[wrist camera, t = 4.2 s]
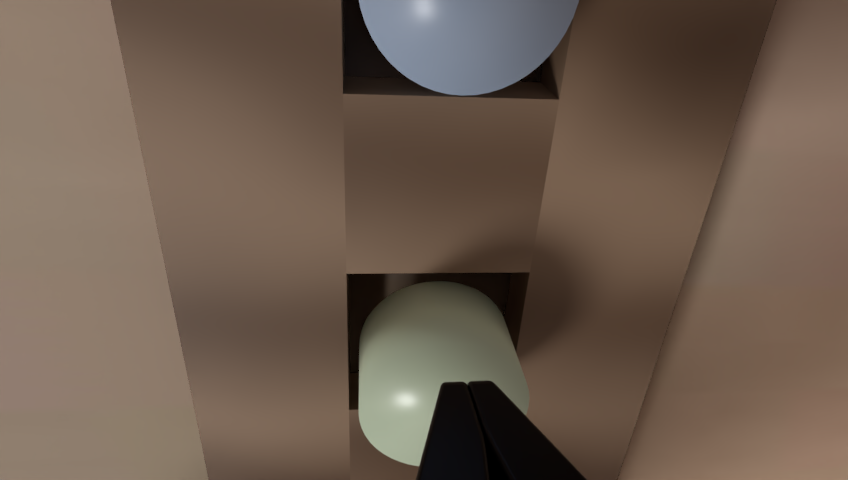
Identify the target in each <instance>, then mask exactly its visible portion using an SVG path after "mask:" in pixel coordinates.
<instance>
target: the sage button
mask: <svg viewBox="0 0 848 480" xmlns="http://www.w3.org/2000/svg"><path fill="white" fill-rule="evenodd" d="M485 380H489V381H492V382H494V383H495V384H496V385H497V386H498V387H499V388H500V389H501V390H502V391H503V392H504V393H505V395H506V396H507V397H508V398H509V399H510V400H511V401H512V402H513V403H514V404H515V405H516V406H517V407H518V408H519V409H520V410H521V411H522V412H523V413H524V414H525V415H526V414H527V410H528V407H529V390H528V386H527V382H526V379H525V376H524V374H523V371H522V368H521V365H520V362H519V359H518V357H517V354H516V351H515V348H514V345H513V343H512V340H511V337H510V334H509V331H508V328H507V326H506V323H505V320H504V318H503V315H502V313H501V311H500V310H499V308H498V307H497V305H496V304H495V303H494V302H493V301H492V300H491V299H490V298H489V297H487V296H486V295H485V294H484V293H482V292H480V291H478V290H477V289H475V288H472V287H470V286H467V285H464V284H460V283H456V282H449V281H429V282H423V283H417V284H414V285H411V286H407V287H405V288H403V289H400V290H398V291H396V292H394V293H393V294H391V295H389V296H388V297H386V298H385V299H384V300H382V301H381V302H380V303H379V304H378V305H377V306H376V307H375V308H374V309H373V310H372V311H371V313H370V314H369V315H368V317H367V319H366V320H365V322H364V325H363V327H362V330H361V334H360V341H359V421H360V425H361V428H362V430H363V432H364V434H365V436H366V437H367V439H368V440H369V442H370V443H371V444H372V445H373V446H374V447H375V448H376V449H378V450H379V451H380V452H382V453H383V454H385V455H386V456H388V457H390V458H392V459H394V460H397V461H399V462H402V463H405V464H409V465H414V466H419V465H420V461H421V457H422V454H423V450H424V446H425V442H426V439H427V435H428V431H429V427H430V424H431V420H432V416H433V412H434V409H435V405H436V401H437V397H438V394H439V390H440V386H441V384H442V383H444V382H465V383H466V384H467V383H469V382H470V381H485Z"/></svg>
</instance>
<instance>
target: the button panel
mask: <svg viewBox="0 0 848 480" xmlns="http://www.w3.org/2000/svg"><path fill="white" fill-rule="evenodd" d="M776 1H777V0H579V3H578V5H577V8H576V11H575V14H574V17H573V19H572V21H571V23H570V25H569V27H568V29H567V31H566V33H565V35H564V36H563V38H562V39H561V41H560V42H559V44H558V45H557V47H556V48H555V49H554V50H553V52H552V53H551V54H550V55H549V57H548V58H547V59H546V60H545V61H544V62H543V68H542V74H541V81H540V82H516V83H514V84H511V85H509V86H507V87H505V88H502V89H499V90H496V91H493V92H490V93H484V94H479V95H464V96H461V95H451V94H445V93H441V92H436V91H433V90H431V89H428V88H425V87H423V86H421V85H419V84H417V83H415V82H414V81H412V80H410V79H409V78H378V77H345V44H344V0H111V5H112V9H113V14H114V19H115V24H116V29H117V34H118V39H119V44H120V48H121V53H122V58H123V63H124V68H125V73H126V78H127V83H128V87H129V92H130V97H131V102H132V107H133V112H134V117H135V122H136V126H137V131H138V136H139V141H140V146H141V151H142V156H143V161H144V165H145V170H146V175H147V180H148V185H149V190H150V195H151V200H152V204H153V209H154V214H155V219H156V224H157V229H158V234H159V239H160V243H161V248H162V253H163V258H164V263H165V268H166V273H167V278H168V282H169V287H170V292H171V297H172V302H173V307H174V312H175V317H176V321H177V326H178V331H179V336H180V341H181V346H182V351H183V356H184V360H185V365H186V370H187V375H188V380H189V385H190V390H191V395H192V399H193V404H194V409H195V414H196V419H197V424H198V429H199V434H200V438H201V443H202V448H203V453H204V458H205V463H206V468H207V473H208V477H209V480H416V476H417V472H418V469H419V466H414V465H409V464H405V463H402V462H399V461H397V460H394V459H392V458H390V457H388V456H386V455H385V454H383V453H382V452H380V451H379V450H378V449H376V448H375V447H374V446H373V445H372V444H371V443H370V442H369V440H368V439H367V437H366V436H365V434H364V432H363V430H362V428H361V425H360V421H359V373H350V339H349V280H348V274H382V273H511V279H510V285H509V292H508V298H507V305H506V311H505V318H504V320H505V323H506V326H507V328H508V331H509V334H510V337H511V340H512V343H513V345H514V348H515V351H516V354H517V357H518V359H519V362H520V365H521V368H522V371H523V374H524V376H525V379H526V382H527V386H528V390H529V407H528V410H527V414H526V416H527V417H528V418H529V420H530V421H531V422H532V423H533V424H534V425H535V426H536V427H537V428H538V429H539V430H540V431H541V432H542V433H543V434H544V435H545V436H546V437H547V438H548V439H549V440H550V441H551V442H552V444H553V445H554V446H555V447H556V448H557V449H558V450H559V451H560V452H561V453H562V454H563V455H564V456H565V457H566V458H567V459H568V460H569V461H570V462H571V463H572V464H573V465H574V466H575V468H576V469H577V470H578V471H579V472H580V473H581V474H582V475H583V476H584V477H585V478H586V479H587V480H617V479H618V476H619V473H620V470H621V467H622V464H623V461H624V458H625V455H626V452H627V449H628V446H629V443H630V440H631V437H632V434H633V431H634V428H635V425H636V422H637V419H638V416H639V413H640V410H641V407H642V404H643V401H644V398H645V395H646V392H647V389H648V386H649V383H650V380H651V377H652V374H653V371H654V368H655V365H656V362H657V359H658V356H659V353H660V350H661V347H662V344H663V341H664V338H665V335H666V332H667V329H668V326H669V323H670V320H671V317H672V314H673V311H674V308H675V305H676V302H677V299H678V296H679V293H680V290H681V287H682V284H683V281H684V278H685V275H686V272H687V269H688V266H689V263H690V260H691V257H692V254H693V251H694V248H695V245H696V242H697V239H698V236H699V232H700V229H701V226H702V223H703V220H704V217H705V214H706V211H707V208H708V205H709V202H710V199H711V196H712V193H713V190H714V187H715V184H716V181H717V178H718V175H719V172H720V169H721V166H722V163H723V160H724V157H725V154H726V151H727V148H728V145H729V142H730V139H731V136H732V133H733V130H734V127H735V124H736V121H737V118H738V115H739V112H740V109H741V106H742V103H743V100H744V97H745V94H746V91H747V88H748V85H749V82H750V79H751V76H752V73H753V70H754V67H755V64H756V61H757V58H758V55H759V52H760V49H761V46H762V43H763V40H764V37H765V34H766V31H767V28H768V25H769V22H770V19H771V16H772V13H773V10H774V7H775V4H776Z"/></svg>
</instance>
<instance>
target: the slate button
mask: <svg viewBox="0 0 848 480" xmlns="http://www.w3.org/2000/svg"><path fill="white" fill-rule="evenodd" d="M578 3H579V0H359V4H360V9H361V12H362V15H363V18H364V21H365V24H366V26H367V28H368V31H369V33H370V35H371V37H372V39H373V41H374V42H375V44H376V45H377V47H378V49H379V50H380V51H381V53H382V54H383V55H384V56H385V58H386V59H387V60H388V61H389V62H390V63H391V64H392V65H393V66H394V67H395V68H396V69H397V70H398V71H399V72H400V73H402V74H403V75H405V76H406V77H407V78H409V79H410V80H412V81H414V82H415V83H417V84H419V85H421V86H423V87H425V88H428V89H431V90H433V91H436V92H441V93H445V94H451V95H461V96H464V95H479V94H484V93H490V92H493V91H496V90H499V89H502V88H505V87H507V86H509V85H511V84H514V83H516V82H517V81H519V80H521V79H522V78H524V77H525V76H527V75H528V74H530V73H531V72H532V71H533V70H535V69H536V68H537V67H538V66H539V65H541V64H542V63H543V62H544V61H545V60H546V59H547V58H548V57H549V55H550V54H551V53H552V52H553V50H554V49H555V48H556V47H557V45H558V44H559V42H560V41H561V39H562V38H563V36H564V35H565V33H566V31H567V29H568V27H569V25H570V23H571V21H572V19H573V17H574V14H575V11H576V8H577V5H578Z"/></svg>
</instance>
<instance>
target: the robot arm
mask: <svg viewBox="0 0 848 480" xmlns="http://www.w3.org/2000/svg"><path fill="white" fill-rule="evenodd" d="M416 480H587V479H586V478H585V477H584V476H583V475H582V474H581V473H580V472H579V471H578V470H577V469H576V468H575V466H574V465H573V464H572V463H571V462H570V461H569V460H568V459H567V458H566V457H565V456H564V455H563V454H562V453H561V452H560V451H559V450H558V449H557V448H556V447H555V446H554V445H553V444H552V442H551V441H550V440H549V439H548V438H547V437H546V436H545V435H544V434H543V433H542V432H541V431H540V430H539V429H538V428H537V427H536V426H535V425H534V424H533V423H532V422H531V421H530V420H529V418H528V417H527V416H526V415H525V414H524V413H523V412H522V411H521V410H520V409H519V408H518V407H517V406H516V405H515V404H514V403H513V402H512V401H511V400H510V399H509V398H508V397H507V396H506V395H505V393H504V392H503V391H502V390H501V389H500V388H499V387H498V386H497V385H496V384H495V383H494V382H492V381H489V380H485V381H470V382H469V383H467V384H466V383H465V382H444V383H442V384H441V386H440V390H439V394H438V397H437V401H436V405H435V409H434V412H433V416H432V420H431V424H430V427H429V431H428V435H427V439H426V442H425V446H424V450H423V454H422V457H421V461H420V465H419V469H418V472H417V476H416Z"/></svg>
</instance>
